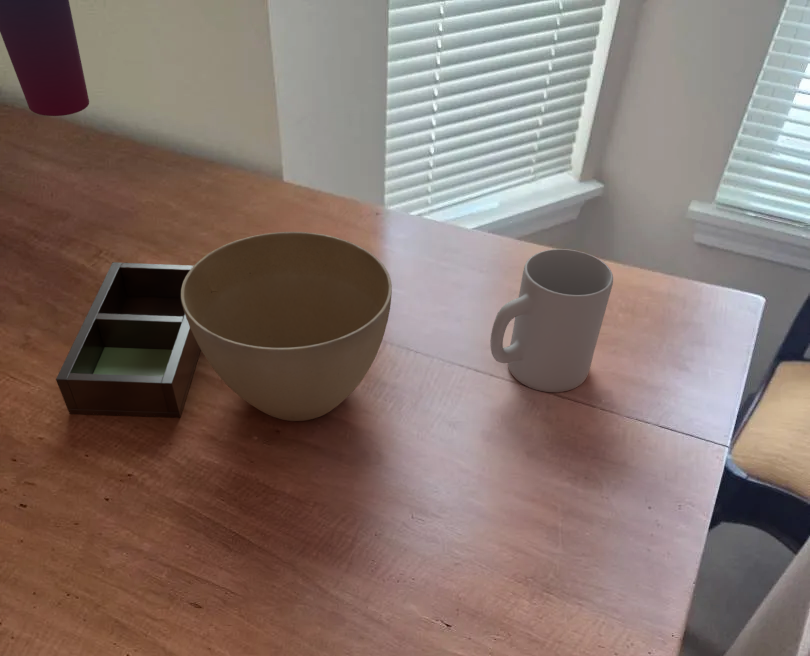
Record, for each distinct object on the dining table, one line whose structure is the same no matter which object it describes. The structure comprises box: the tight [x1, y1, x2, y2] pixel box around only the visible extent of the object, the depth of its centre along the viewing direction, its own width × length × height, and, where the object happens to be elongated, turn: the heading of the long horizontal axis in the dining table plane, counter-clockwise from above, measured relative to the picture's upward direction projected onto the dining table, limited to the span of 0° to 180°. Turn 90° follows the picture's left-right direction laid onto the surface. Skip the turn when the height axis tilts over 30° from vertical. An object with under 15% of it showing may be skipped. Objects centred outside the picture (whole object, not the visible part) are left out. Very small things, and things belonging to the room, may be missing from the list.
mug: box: [490, 248, 614, 393], centre depth 74 cm, size 12×8×11 cm
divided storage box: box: [55, 261, 202, 419], centre depth 76 cm, size 10×20×4 cm, turn 179°
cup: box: [0, 0, 90, 117], centre depth 60 cm, size 7×7×15 cm
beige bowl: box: [181, 231, 393, 422], centre depth 70 cm, size 18×18×12 cm
